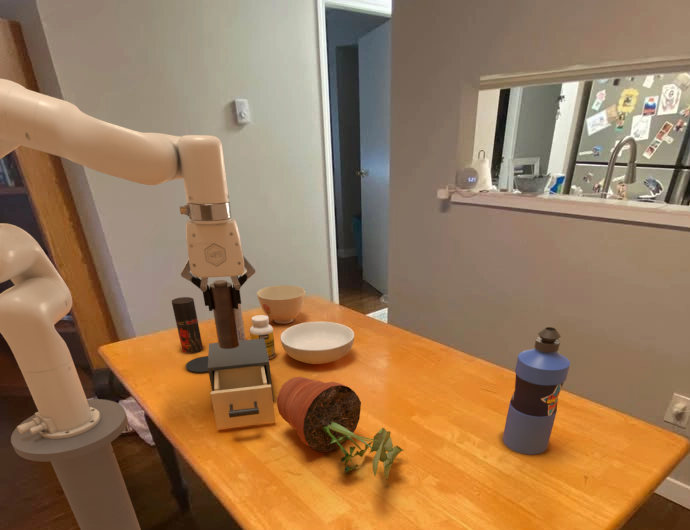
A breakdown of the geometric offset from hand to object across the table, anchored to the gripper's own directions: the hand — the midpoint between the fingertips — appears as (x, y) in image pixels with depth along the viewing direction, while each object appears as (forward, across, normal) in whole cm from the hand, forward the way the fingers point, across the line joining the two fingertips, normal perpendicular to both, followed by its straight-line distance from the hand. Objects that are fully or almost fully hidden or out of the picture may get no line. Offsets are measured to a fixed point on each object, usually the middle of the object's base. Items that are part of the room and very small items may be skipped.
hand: (223, 307), depth 95 cm
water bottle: (+24, +58, -28) cm, 69 cm away
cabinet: (+25, +1, +9) cm, 26 cm away
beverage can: (+25, 0, +41) cm, 48 cm away
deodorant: (+25, -13, +39) cm, 48 cm away
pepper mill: (+8, 0, 0) cm, 8 cm away
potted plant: (+25, +21, -24) cm, 40 cm away
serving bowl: (+25, +23, +25) cm, 42 cm away
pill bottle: (+25, +8, +29) cm, 39 cm away
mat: (+25, -9, +27) cm, 37 cm away
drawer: (+24, +2, -4) cm, 24 cm away
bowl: (+25, +16, +57) cm, 65 cm away
